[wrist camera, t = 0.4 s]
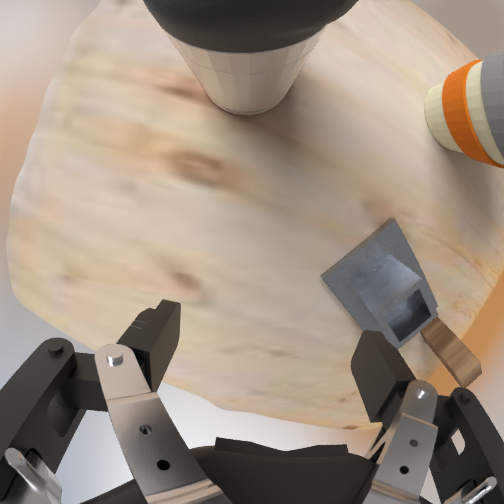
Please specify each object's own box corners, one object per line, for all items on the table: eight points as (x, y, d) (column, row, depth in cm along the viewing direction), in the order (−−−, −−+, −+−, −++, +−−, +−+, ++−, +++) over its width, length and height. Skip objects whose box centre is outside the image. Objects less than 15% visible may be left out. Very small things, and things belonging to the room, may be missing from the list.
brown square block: (420, 330, 35) (460, 379, 24) (436, 316, 34) (480, 361, 23) (426, 342, 36) (463, 390, 24) (442, 328, 35) (481, 373, 24)
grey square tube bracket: (320, 275, 32) (336, 302, 26) (391, 217, 29) (420, 231, 23) (377, 349, 36) (394, 378, 29) (434, 302, 33) (458, 325, 27)
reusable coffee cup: (449, 182, 28) (535, 205, 14) (395, 102, 25) (483, 78, 11) (488, 131, 25) (564, 136, 11) (442, 58, 22) (517, 33, 8)
